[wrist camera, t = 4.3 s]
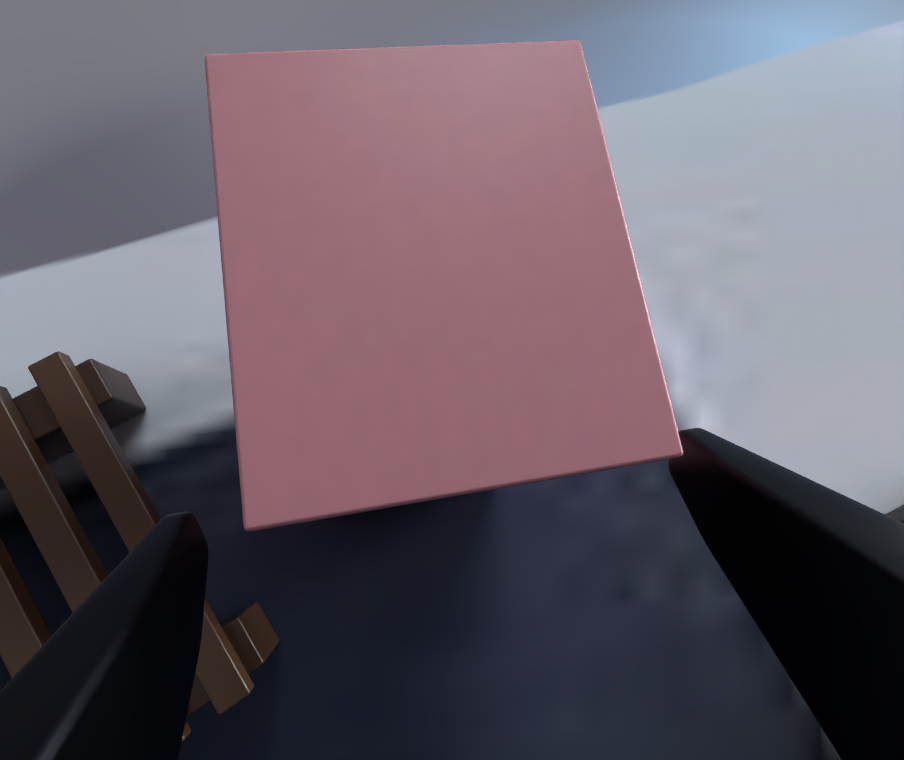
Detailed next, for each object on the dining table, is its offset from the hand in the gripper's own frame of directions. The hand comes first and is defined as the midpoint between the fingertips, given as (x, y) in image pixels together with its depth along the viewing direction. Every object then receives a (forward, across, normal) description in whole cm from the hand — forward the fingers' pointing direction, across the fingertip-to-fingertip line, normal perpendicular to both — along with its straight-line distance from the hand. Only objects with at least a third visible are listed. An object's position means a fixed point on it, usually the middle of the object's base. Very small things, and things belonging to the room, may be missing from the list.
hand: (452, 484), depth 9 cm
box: (+10, 0, +5) cm, 11 cm away
